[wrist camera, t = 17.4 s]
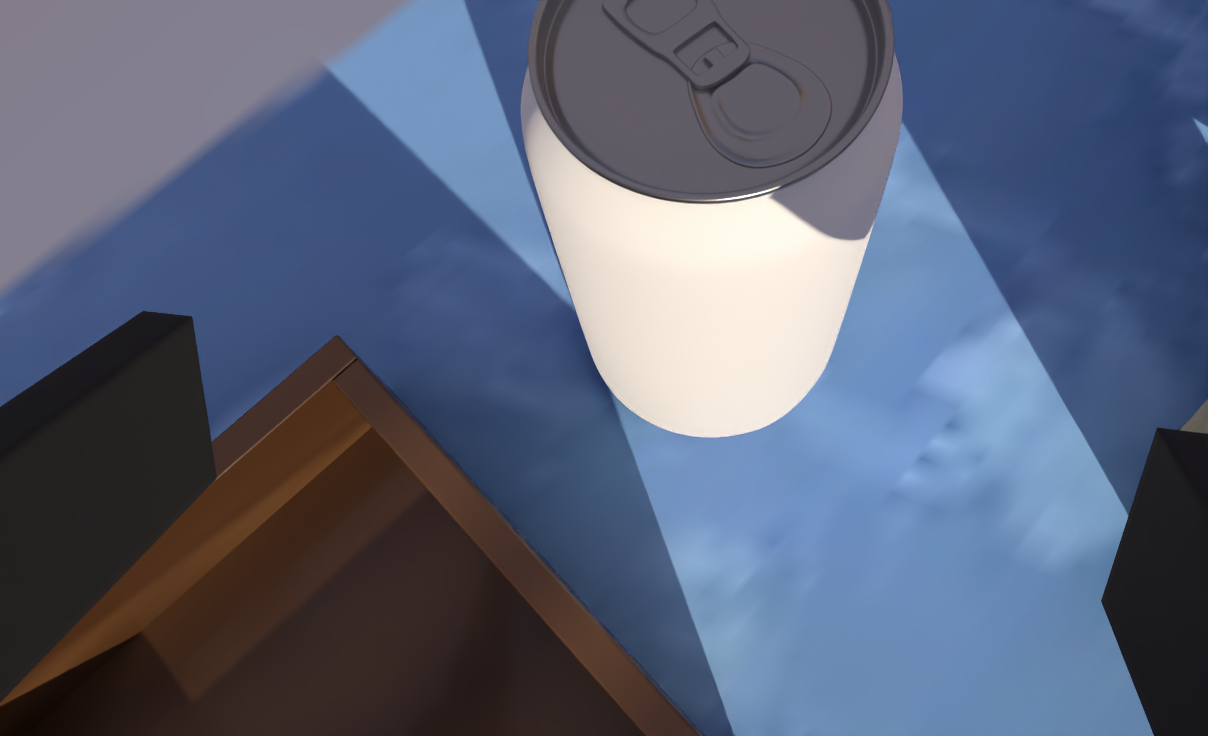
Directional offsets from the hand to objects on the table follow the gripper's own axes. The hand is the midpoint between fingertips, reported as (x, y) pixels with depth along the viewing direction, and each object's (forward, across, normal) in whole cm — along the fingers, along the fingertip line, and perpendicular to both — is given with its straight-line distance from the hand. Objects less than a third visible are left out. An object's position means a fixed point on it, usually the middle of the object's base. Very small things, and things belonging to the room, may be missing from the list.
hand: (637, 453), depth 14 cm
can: (+13, 0, -4) cm, 13 cm away
